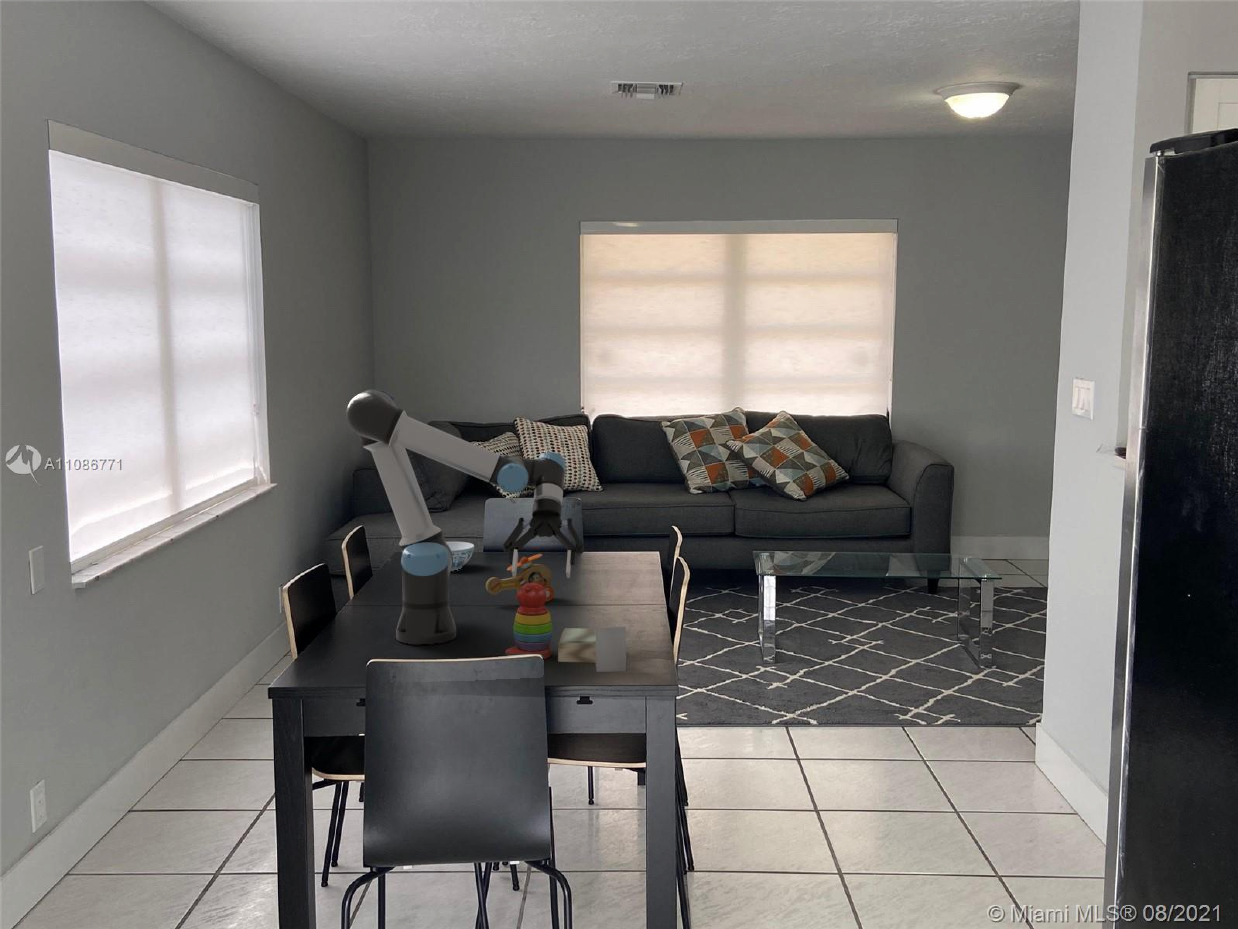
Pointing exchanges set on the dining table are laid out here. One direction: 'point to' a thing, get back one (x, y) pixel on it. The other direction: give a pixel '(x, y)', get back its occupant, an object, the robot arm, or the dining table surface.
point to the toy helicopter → (524, 578)
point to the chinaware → (460, 553)
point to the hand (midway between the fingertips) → (540, 574)
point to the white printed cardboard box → (610, 649)
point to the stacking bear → (532, 622)
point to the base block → (577, 645)
